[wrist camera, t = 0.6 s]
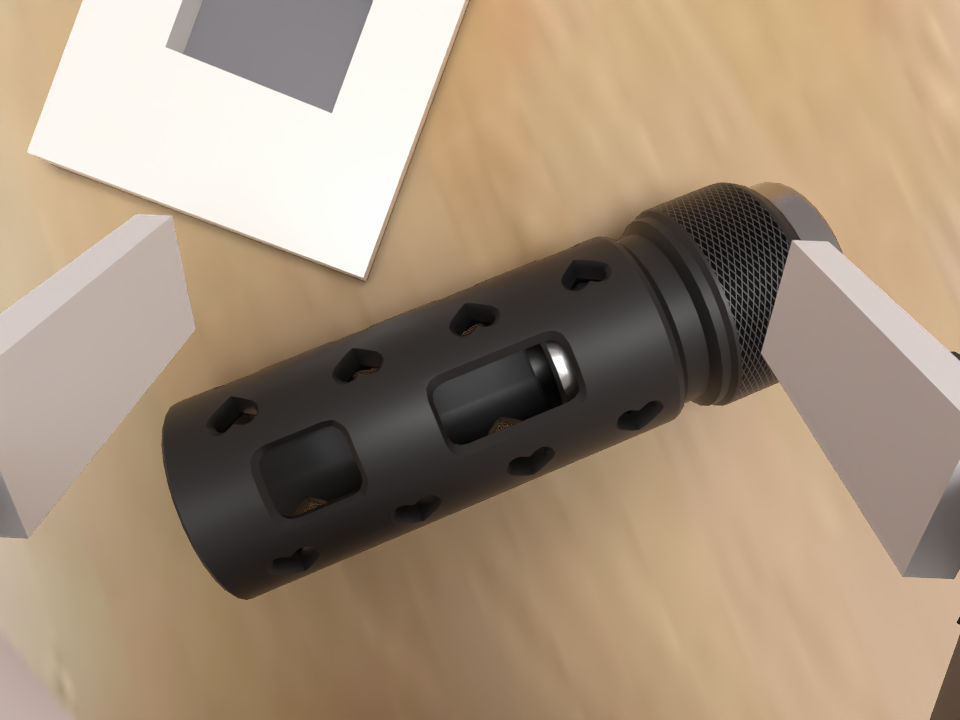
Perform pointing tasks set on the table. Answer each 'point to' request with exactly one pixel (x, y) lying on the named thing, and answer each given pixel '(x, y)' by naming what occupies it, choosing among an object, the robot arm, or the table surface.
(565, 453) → the muzzle brake
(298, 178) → the socket plate
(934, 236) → the table surface
